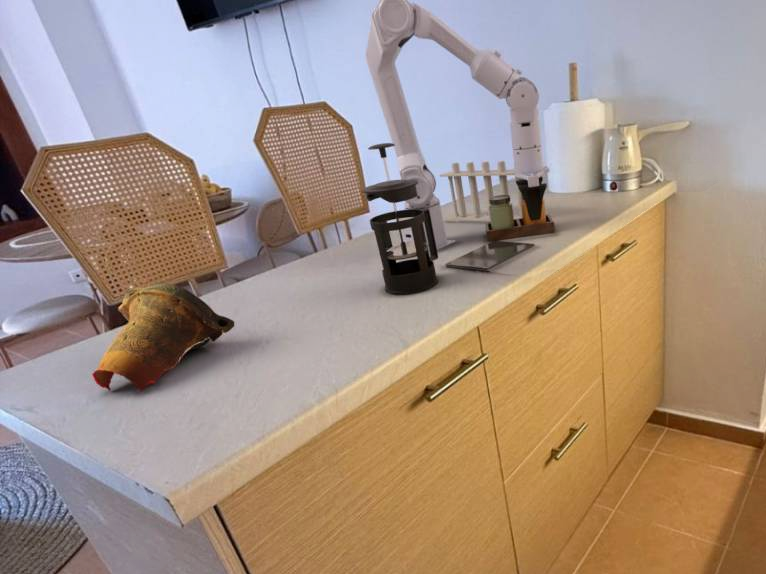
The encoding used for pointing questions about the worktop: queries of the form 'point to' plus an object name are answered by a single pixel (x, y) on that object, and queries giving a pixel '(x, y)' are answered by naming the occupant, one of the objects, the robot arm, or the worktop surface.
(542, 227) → the jar stand
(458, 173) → the test tube rack
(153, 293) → the pot
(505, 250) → the slate board
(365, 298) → the worktop surface
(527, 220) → the honey jar
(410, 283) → the french press
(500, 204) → the sage jar
